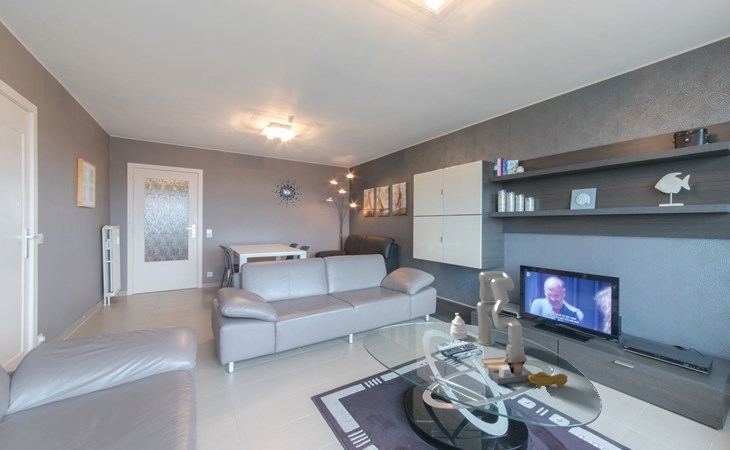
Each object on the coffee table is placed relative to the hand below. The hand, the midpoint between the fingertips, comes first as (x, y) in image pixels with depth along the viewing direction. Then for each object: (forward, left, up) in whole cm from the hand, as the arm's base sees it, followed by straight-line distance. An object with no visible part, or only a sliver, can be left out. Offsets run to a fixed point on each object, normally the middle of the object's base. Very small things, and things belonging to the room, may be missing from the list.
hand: (515, 371), depth 177 cm
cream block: (0, -7, -2) cm, 7 cm away
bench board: (-13, -3, -3) cm, 14 cm away
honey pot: (-60, -9, -4) cm, 61 cm away
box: (0, -3, -3) cm, 5 cm away
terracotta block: (0, 0, -1) cm, 1 cm away
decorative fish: (+12, +12, -4) cm, 17 cm away
